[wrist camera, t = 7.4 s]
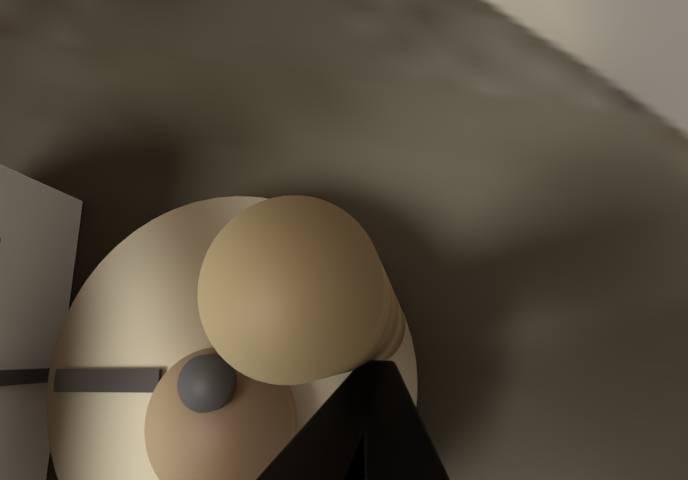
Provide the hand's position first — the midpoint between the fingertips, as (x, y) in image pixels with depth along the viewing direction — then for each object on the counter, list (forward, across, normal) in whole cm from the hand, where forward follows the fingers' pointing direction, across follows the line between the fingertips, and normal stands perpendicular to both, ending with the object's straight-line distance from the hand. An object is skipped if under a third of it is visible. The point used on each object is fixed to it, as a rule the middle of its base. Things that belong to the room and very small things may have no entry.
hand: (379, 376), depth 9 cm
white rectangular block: (+5, -16, -6) cm, 18 cm away
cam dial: (+5, -5, -6) cm, 10 cm away
